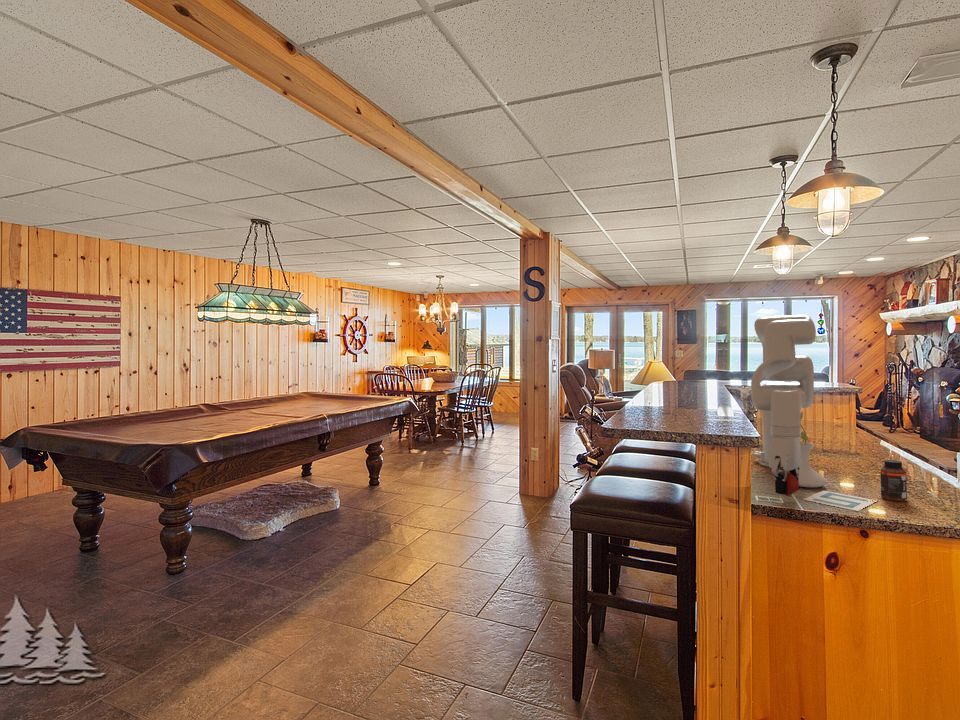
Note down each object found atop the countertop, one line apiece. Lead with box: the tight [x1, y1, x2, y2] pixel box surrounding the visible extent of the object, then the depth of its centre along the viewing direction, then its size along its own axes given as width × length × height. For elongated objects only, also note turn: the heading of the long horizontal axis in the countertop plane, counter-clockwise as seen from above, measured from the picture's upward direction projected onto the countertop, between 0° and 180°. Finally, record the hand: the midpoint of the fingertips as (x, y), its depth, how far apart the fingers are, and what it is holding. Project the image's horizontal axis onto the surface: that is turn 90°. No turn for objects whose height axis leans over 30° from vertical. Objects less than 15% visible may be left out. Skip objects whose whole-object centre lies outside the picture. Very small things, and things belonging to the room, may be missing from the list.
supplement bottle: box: [880, 459, 908, 502], centre depth 147 cm, size 6×6×11 cm
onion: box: [780, 471, 800, 497], centre depth 148 cm, size 6×6×8 cm
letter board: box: [802, 490, 878, 512], centre depth 147 cm, size 14×14×1 cm
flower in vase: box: [798, 410, 828, 488], centre depth 163 cm, size 13×11×25 cm
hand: (787, 491), depth 148 cm, fingers closed on onion, 5 cm apart
